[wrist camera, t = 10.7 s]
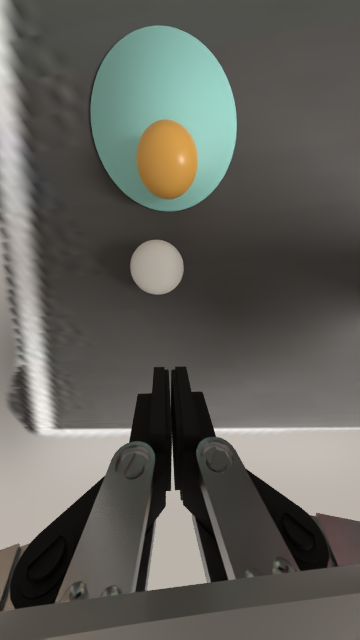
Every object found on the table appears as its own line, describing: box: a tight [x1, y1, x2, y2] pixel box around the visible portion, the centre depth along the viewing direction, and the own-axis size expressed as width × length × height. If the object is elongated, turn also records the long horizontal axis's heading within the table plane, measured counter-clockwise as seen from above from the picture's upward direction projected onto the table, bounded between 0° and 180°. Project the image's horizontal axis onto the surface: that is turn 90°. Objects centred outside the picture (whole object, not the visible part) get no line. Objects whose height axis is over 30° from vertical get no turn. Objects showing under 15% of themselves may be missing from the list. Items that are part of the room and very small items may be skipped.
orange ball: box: [136, 119, 198, 200], centre depth 17 cm, size 6×6×6 cm
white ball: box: [130, 240, 184, 295], centre depth 20 cm, size 6×6×6 cm
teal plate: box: [91, 26, 237, 211], centre depth 19 cm, size 14×14×1 cm
